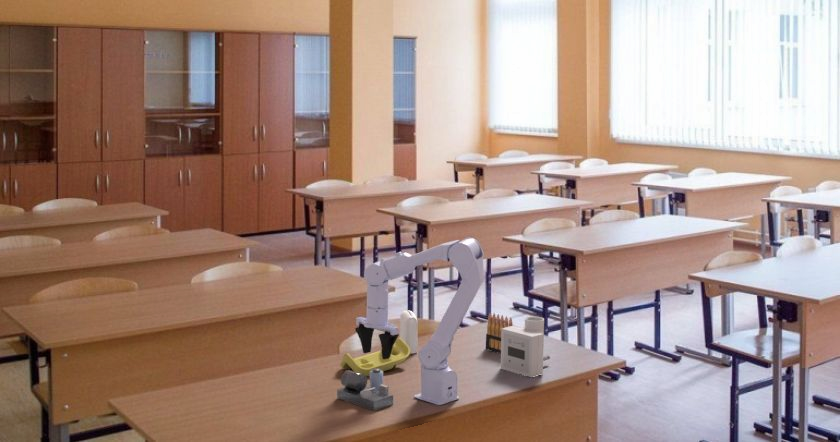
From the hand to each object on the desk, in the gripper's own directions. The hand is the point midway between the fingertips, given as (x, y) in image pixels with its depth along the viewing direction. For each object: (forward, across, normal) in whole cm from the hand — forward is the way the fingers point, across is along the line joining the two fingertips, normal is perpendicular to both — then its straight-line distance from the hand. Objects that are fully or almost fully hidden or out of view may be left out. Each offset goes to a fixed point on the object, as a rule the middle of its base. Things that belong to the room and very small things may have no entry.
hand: (376, 355), depth 268 cm
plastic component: (+11, -15, +15) cm, 24 cm away
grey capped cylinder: (+10, 0, 0) cm, 10 cm away
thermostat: (+10, +16, +47) cm, 51 cm away
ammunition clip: (+10, -2, +54) cm, 55 cm away
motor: (+10, +4, -8) cm, 13 cm away
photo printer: (+10, -23, +36) cm, 44 cm away
